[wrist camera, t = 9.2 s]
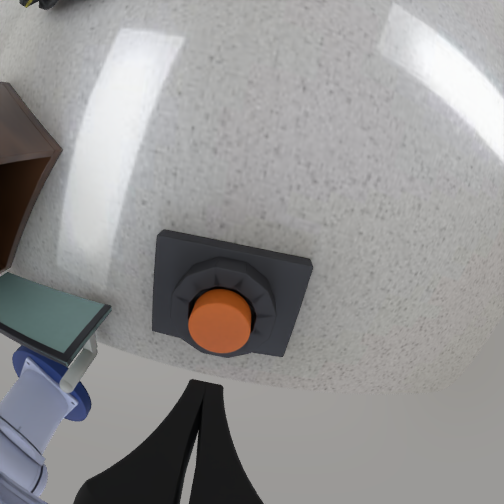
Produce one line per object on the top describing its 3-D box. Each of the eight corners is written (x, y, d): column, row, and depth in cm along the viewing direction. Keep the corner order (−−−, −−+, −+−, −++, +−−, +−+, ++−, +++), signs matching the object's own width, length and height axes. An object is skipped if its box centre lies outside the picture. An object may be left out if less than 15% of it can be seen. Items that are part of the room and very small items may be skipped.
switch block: (156, 321, 21) (144, 344, 18) (163, 229, 18) (146, 243, 15) (282, 346, 21) (284, 373, 18) (310, 258, 18) (319, 278, 16)
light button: (191, 330, 18) (185, 346, 16) (197, 282, 16) (190, 297, 15) (245, 341, 18) (243, 358, 16) (256, 294, 17) (256, 310, 15)
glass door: (117, 354, 21) (84, 410, 14) (17, 315, 20) (-21, 350, 14) (111, 305, 19) (66, 361, 12) (7, 271, 18) (-39, 303, 12)
